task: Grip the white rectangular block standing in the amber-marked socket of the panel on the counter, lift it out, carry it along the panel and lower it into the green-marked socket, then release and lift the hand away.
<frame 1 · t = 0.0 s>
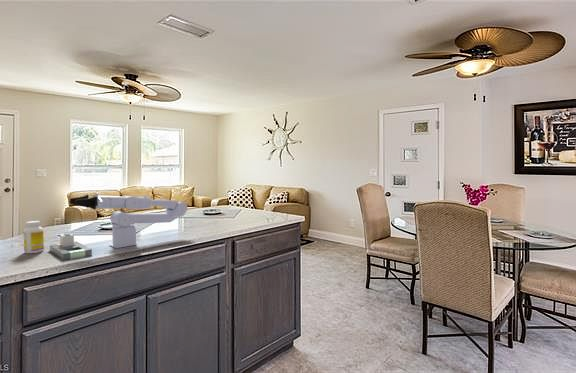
hand: (72, 201, 138), 22 cm above the table, tool horizontal, fingers open, 7 cm apart
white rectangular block: (67, 251, 142), resting in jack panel
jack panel: (70, 252, 139), on the table
supplement bottle: (34, 252, 140), on the table
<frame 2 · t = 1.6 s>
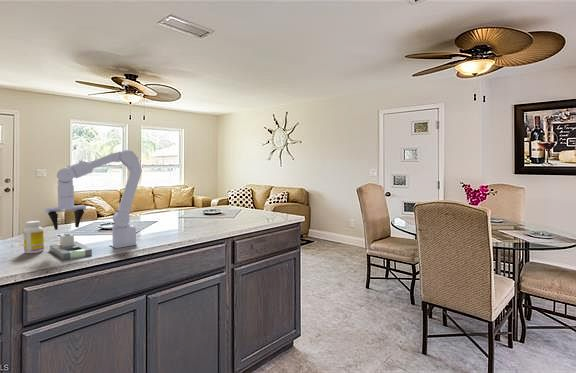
hand: (66, 228, 142), 10 cm above the table, tool pointing down, fingers open, 7 cm apart
nothing on the table moved.
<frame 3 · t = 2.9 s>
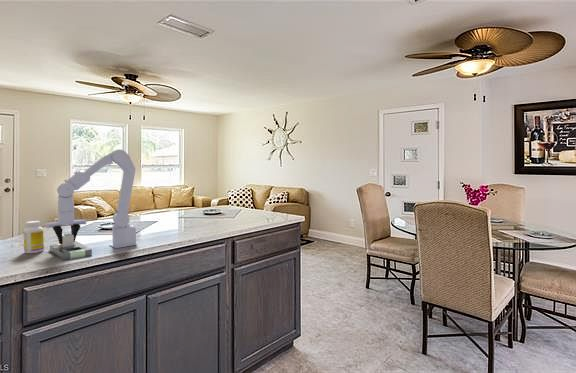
hand: (67, 242, 142), 4 cm above the table, tool pointing down, fingers closed on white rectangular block, 4 cm apart
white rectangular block: (67, 251, 142), resting in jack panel, touching gripper
everything else where it was.
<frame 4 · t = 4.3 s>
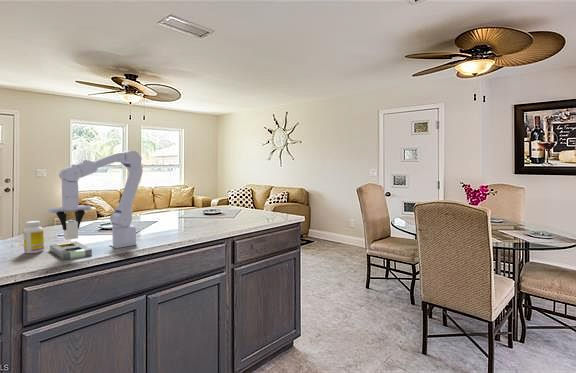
hand: (71, 229, 137), 10 cm above the table, tool pointing down, fingers closed on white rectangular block, 4 cm apart
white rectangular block: (71, 238, 138), point 7 cm above the table, touching gripper
everything else where it was.
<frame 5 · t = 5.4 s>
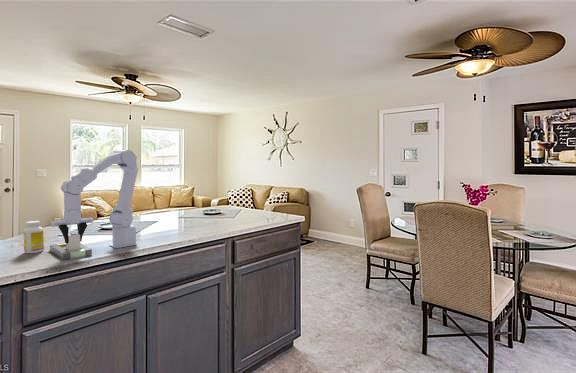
hand: (73, 242, 136), 5 cm above the table, tool pointing down, fingers closed on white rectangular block, 4 cm apart
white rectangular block: (73, 251, 136), point 2 cm above the table, touching gripper
everything else where it was.
when the fingers open (4 cm above the table, at t = 6.0 s): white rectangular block stays where it is, resting in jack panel.
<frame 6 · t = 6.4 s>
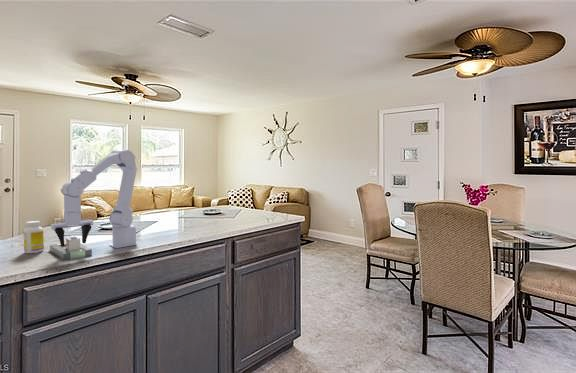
hand: (73, 244, 136), 4 cm above the table, tool pointing down, fingers open, 7 cm apart
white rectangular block: (73, 255, 136), resting in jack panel
everything else where it was.
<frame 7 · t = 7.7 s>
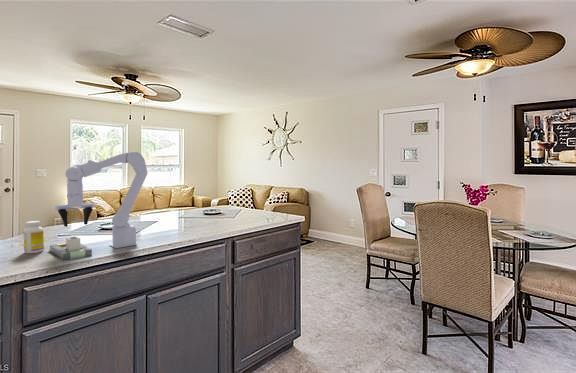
hand: (75, 225, 146), 10 cm above the table, tool pointing down, fingers open, 7 cm apart
nothing on the table moved.
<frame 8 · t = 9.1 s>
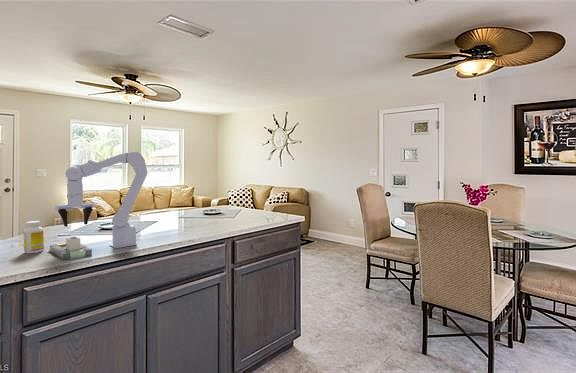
hand: (75, 225, 146), 10 cm above the table, tool pointing down, fingers open, 7 cm apart
nothing on the table moved.
at the end: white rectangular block 0.3 cm from the target spot, resting in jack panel; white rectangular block tilted 0°; the gripper is holding nothing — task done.
